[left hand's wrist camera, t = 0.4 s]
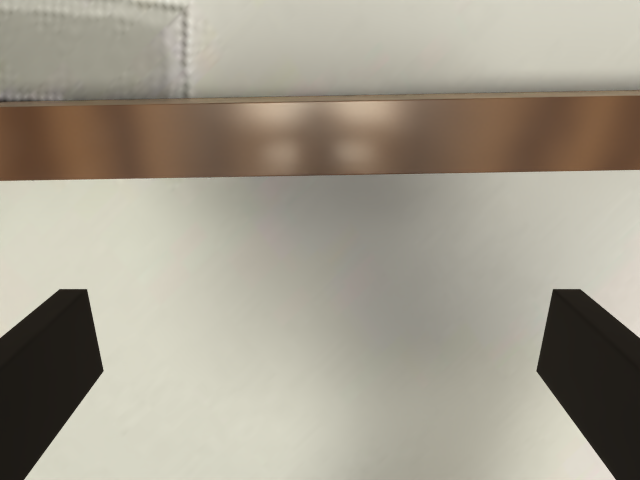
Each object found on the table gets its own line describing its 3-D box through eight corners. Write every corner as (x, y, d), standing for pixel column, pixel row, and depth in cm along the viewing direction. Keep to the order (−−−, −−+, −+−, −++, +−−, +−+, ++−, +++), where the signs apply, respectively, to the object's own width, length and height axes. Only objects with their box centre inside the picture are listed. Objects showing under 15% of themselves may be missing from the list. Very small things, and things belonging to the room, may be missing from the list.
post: (736, 88, 36) (851, 91, 28) (718, 148, 38) (823, 166, 30) (-257, 106, 37) (-414, 114, 29) (-231, 164, 38) (-372, 187, 30)
